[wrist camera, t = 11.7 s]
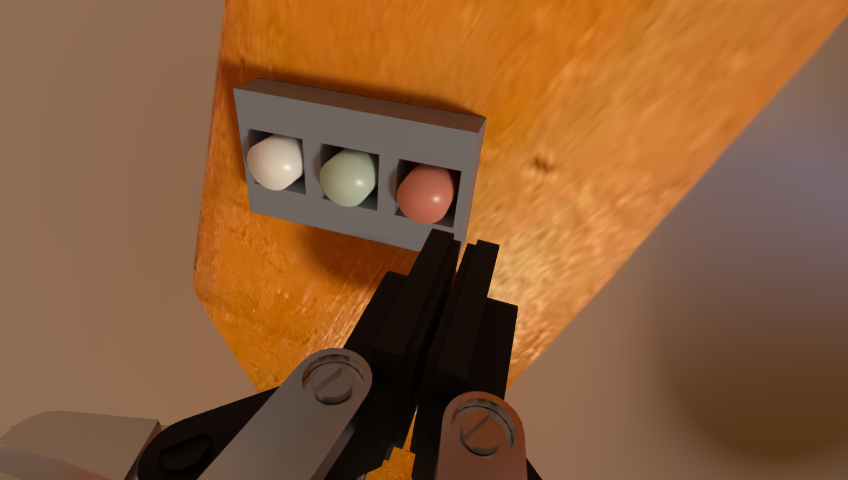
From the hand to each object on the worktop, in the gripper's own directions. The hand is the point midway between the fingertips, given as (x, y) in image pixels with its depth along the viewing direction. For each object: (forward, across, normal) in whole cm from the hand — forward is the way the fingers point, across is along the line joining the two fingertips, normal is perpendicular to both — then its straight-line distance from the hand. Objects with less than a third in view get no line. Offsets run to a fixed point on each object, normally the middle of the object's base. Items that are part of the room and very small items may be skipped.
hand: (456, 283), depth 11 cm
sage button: (+27, +13, +11) cm, 32 cm away
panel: (+28, +13, +12) cm, 33 cm away
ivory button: (+27, +20, +12) cm, 36 cm away
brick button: (+27, +6, +11) cm, 30 cm away
